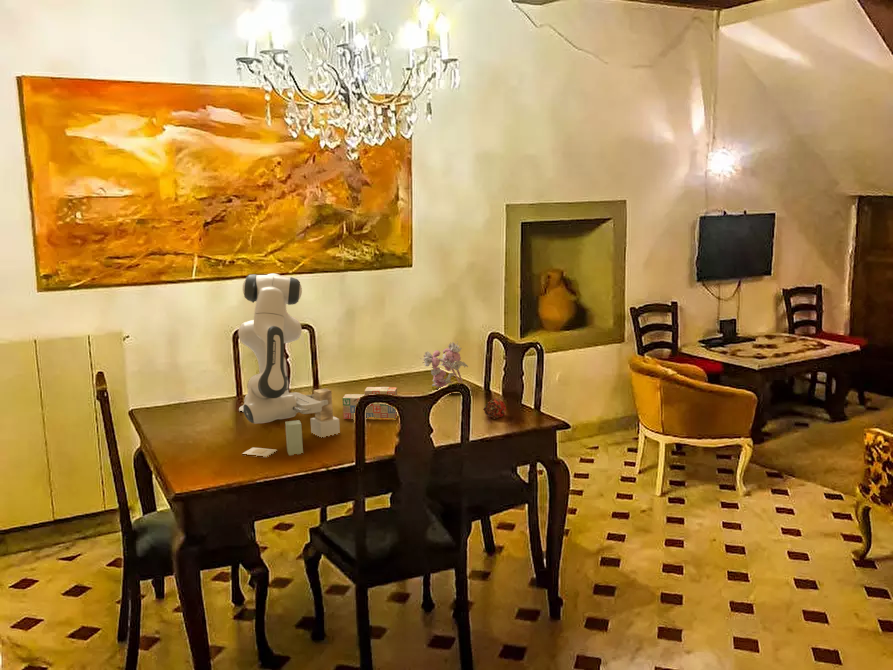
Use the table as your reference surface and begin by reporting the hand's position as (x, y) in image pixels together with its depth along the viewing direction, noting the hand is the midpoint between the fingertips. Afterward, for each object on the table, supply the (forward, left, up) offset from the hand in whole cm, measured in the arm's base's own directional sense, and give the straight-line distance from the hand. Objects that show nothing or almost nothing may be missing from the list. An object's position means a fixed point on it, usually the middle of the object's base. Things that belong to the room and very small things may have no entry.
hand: (321, 399), depth 324 cm
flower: (+24, +71, -14) cm, 76 cm away
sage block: (0, -22, -14) cm, 26 cm away
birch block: (0, +1, -8) cm, 8 cm away
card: (-12, -26, -14) cm, 32 cm away
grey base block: (0, +1, -14) cm, 14 cm away
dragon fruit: (+57, +37, -14) cm, 69 cm away
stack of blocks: (+9, +24, -14) cm, 29 cm away
